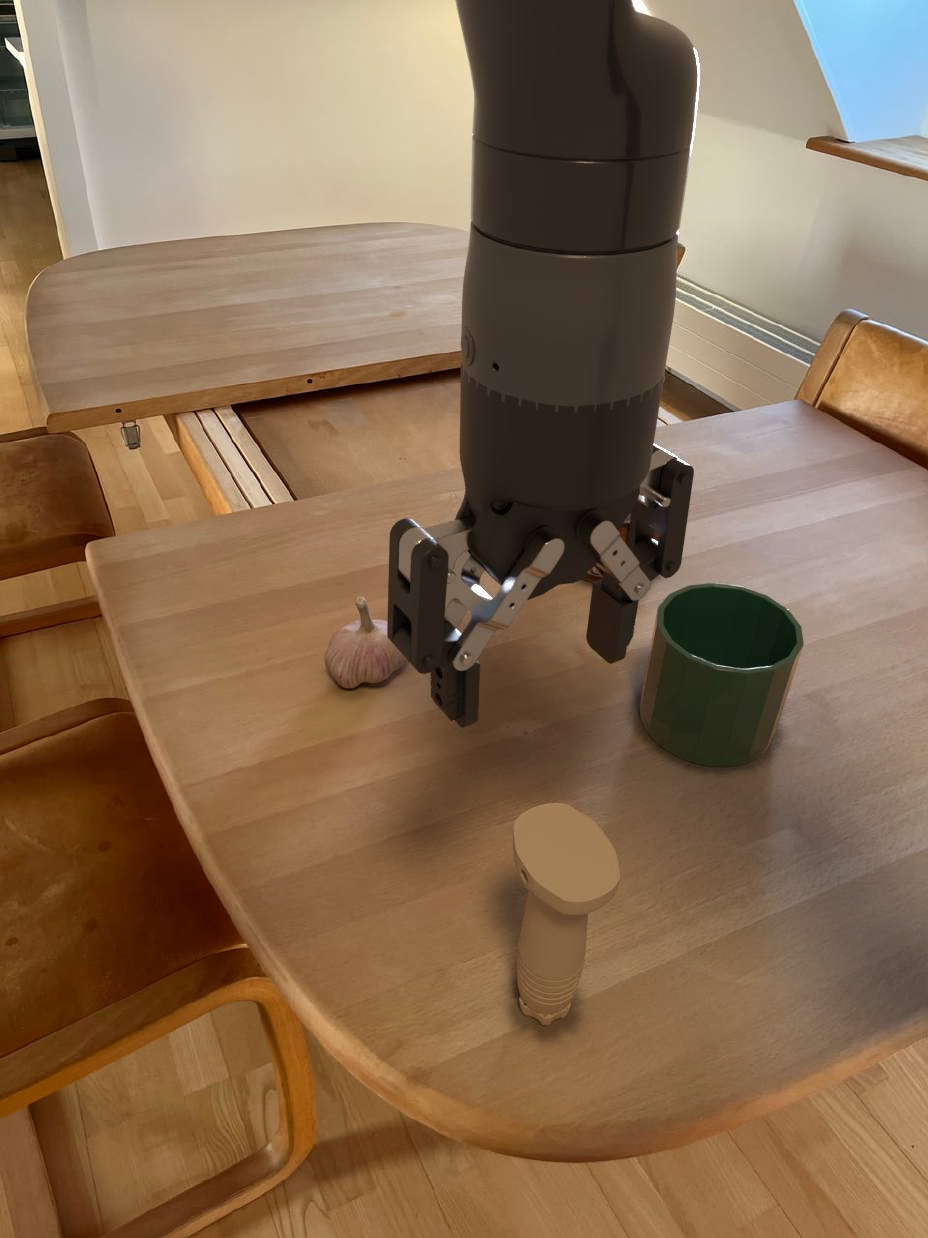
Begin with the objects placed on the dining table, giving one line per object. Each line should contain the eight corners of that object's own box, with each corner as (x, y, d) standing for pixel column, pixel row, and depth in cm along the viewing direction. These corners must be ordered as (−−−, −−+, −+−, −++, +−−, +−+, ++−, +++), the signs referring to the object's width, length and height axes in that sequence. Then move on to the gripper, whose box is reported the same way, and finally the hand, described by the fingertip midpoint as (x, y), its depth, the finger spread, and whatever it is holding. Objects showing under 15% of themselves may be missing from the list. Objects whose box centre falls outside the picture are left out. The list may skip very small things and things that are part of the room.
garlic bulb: (330, 703, 79) (323, 629, 74) (321, 648, 84) (314, 576, 79) (418, 691, 80) (418, 618, 75) (403, 638, 86) (402, 566, 81)
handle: (550, 946, 61) (572, 792, 52) (604, 1031, 57) (639, 880, 47) (485, 975, 59) (495, 821, 50) (535, 1066, 55) (557, 915, 46)
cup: (797, 757, 75) (829, 663, 69) (667, 775, 73) (689, 680, 67) (739, 668, 83) (763, 577, 77) (621, 682, 82) (637, 590, 75)
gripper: (452, 439, 29) (448, 794, 39) (776, 349, 35) (701, 675, 45) (342, 356, 34) (364, 689, 44) (643, 290, 40) (602, 596, 50)
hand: (535, 682), depth 44 cm, fingers open, 8 cm apart
